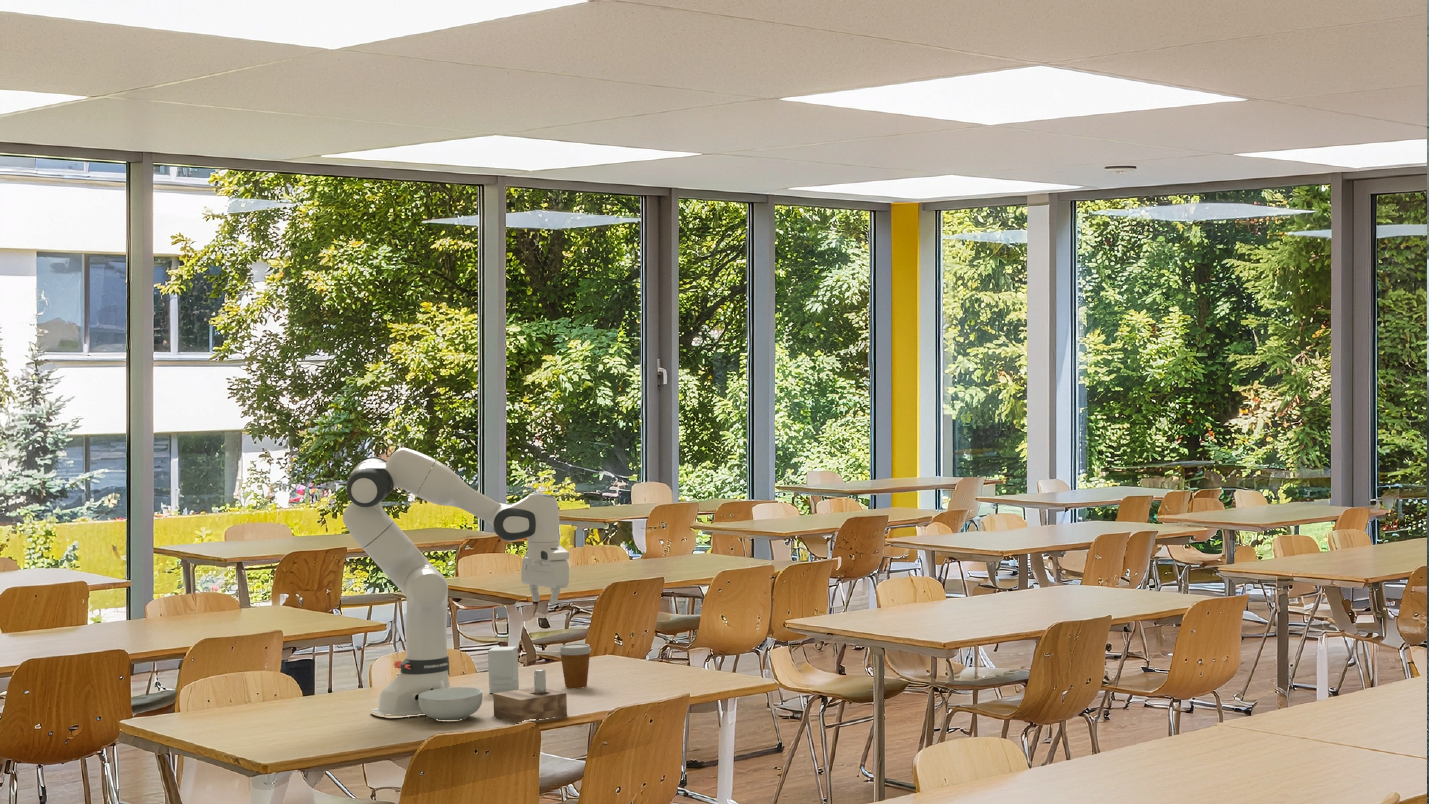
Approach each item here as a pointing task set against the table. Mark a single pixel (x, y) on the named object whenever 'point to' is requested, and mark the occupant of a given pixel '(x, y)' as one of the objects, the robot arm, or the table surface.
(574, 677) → the disposable coffee cup
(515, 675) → the supplement box
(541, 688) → the pin
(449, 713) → the cereal bowl
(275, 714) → the table surface
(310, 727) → the table surface
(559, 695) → the socket block
